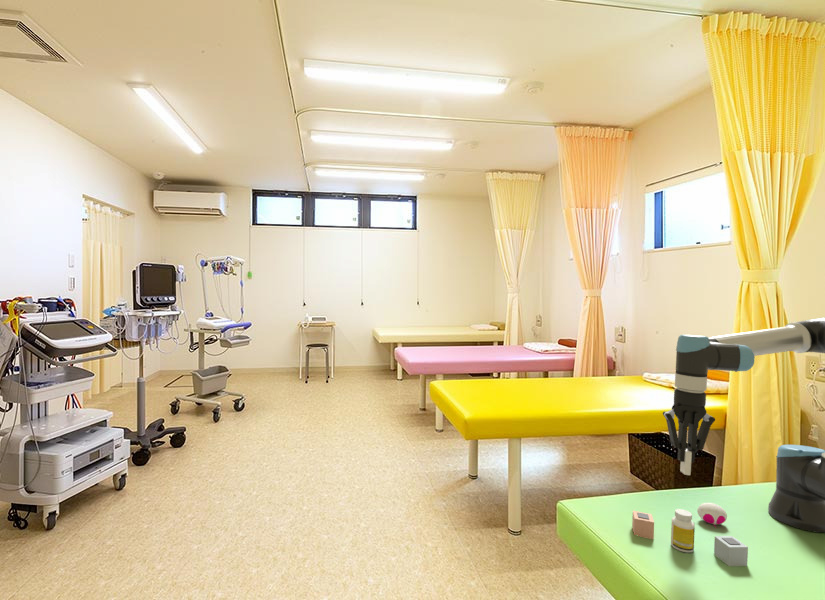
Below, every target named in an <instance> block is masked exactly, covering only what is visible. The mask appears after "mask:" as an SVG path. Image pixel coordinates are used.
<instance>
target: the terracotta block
mask: <svg viewBox="0 0 825 600" xmlns="http://www.w3.org/2000/svg"><path fill="white" fill-rule="evenodd" d="M631 522H632V523H631V525H632V526H631V527H633V528H632V532H634V533H633V536H635V535H638V536H637V537H639V536H640V538H645V539H649V540H654V539H655V538H654V537H655V520H654V517H653V514H652V513H648V512H647V513H646V512H642V511H637V510H632V520H631Z"/></svg>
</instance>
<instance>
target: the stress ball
mask: <svg viewBox="0 0 825 600" xmlns="http://www.w3.org/2000/svg"><path fill="white" fill-rule="evenodd" d="M696 511H697V514H698V516H699V518H700V519H702V521H704V522H706V523H708V524H711V525H713V526H714V527H715V528H717V525H721V524H723V523H725V522H726V521H727V518H728V515H727V513H726V510H725V509H724V508H723V507H722V506H721V505H718V504H717V503H714V502H703V503H701V504H700V505H699V506H698V507H697V510H696Z"/></svg>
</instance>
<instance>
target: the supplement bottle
mask: <svg viewBox="0 0 825 600" xmlns="http://www.w3.org/2000/svg"><path fill="white" fill-rule="evenodd" d="M695 529H696V527H695V523H694V521H693V514H692V513H691V512H690V511H688V510H686V509H682V508H676V509H675V510H674V516H673V517H672V518H671V529H670V530H671V531H670V532H671V533H670V544H671V546H672V548H674V549H676V550H677V551H679V552H683V553H693V552H694V551H695V550H694V549H695V533H696V532H695Z"/></svg>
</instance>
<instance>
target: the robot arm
mask: <svg viewBox="0 0 825 600" xmlns="http://www.w3.org/2000/svg"><path fill="white" fill-rule="evenodd" d="M675 351H676V352H675V353H676V356H675V358H676V360H675V373H674V377H675V378H674V387H675V388H674V389H673V390H674V391H673V393H674V394H673V405H672V407H671V409H670V410H668V411H665V410H664V411H663V412H662V415H663V417H664V418H665V420H666V426H667V430H668V435H669V436H668V437H669V442H670V444H671V446H673V447H674V448H676V449H677V461H680V465H679V467H680V469H679V470H680V471H679V472H680V473H682V474H683V475H686V476H691V472H692V464H693V463H695V461H696V459H695V457H696V453H697V452H698V451H703V450H704V447H705V445H706V441H707V438H708V435H709V432H710V429H711V426H712V425H713V423H714V422H715V421H716V418H715V417H713V416H712V415H710V414H709V413H707V410H706V404H707V403H706V401H707V394H706V391H707V388H708V386H707V385H708V373H709V371H727V372H735V373H738V372H747V371H749V370H751V369H752V368H753V367H754V365H755V359H756V358H755V357H756V356H757V357H758V356H763V355H771V354H778V353H779V354H780V353H786V352H794V353H797V354H803V353H804V354H805V353H817V354H818V353H819V354H825V316H823V317H818V318H811V319H810V318H809V319H807V320H806V319H805V320H800V321H793V322H792V321H791V322H789V323H787V324H785V325H784V326H781V327H780V326H779V327H774V328H766V329H759V330H752V331H746V332H738V333H731V334H724V335H716V336H711V337H708V336H705V335H697V334H695V335H694V334H680V335H678V338H677V342H676V349H675ZM675 417H676V418H677V423H678V430H677V428H676V427H677V426H676V422H675V420H674V419H675ZM700 422H701V423H700ZM699 423H700V426H699ZM698 428H699V430H698ZM677 431H678V433H677ZM775 457H776V470H775V471H776V475H775V477H776V478H775V479H776V480H775V481H776V483H775V484H776V485H775V491H774V493H773V494H772V497H771V499H770V501H769V502H768V507H767V510H768V514H769V515H770V516H771V517H773V518H774V519H775V520H777V521H779V522H781V523H782V524H785V525H788V526H791V527H794V528H795V529H799V528H800V529H799V530H803V529H804V530H803V531H807V530H809V531H808V532H812V531H815V532H814V533H820V532H825V449H822V448H818V447H814V446H808V445H800V444H782V445H780V446H778V448H777V455H776V456H775Z"/></svg>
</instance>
